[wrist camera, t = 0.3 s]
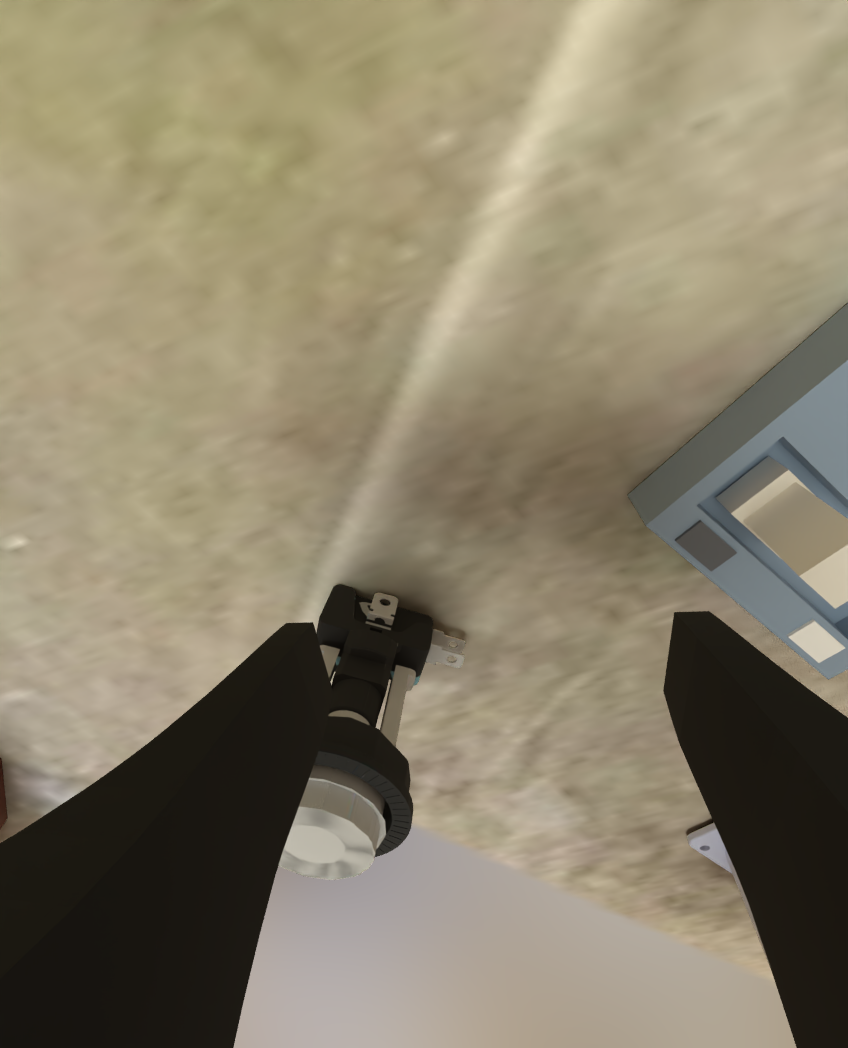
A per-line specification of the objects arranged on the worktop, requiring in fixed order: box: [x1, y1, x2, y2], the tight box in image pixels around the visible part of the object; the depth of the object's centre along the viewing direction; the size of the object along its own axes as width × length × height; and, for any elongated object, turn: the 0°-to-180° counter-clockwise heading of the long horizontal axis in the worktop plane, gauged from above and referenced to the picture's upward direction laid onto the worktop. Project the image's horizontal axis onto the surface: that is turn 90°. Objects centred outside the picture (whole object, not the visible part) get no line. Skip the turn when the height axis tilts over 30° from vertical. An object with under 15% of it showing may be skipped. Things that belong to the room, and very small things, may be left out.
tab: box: [716, 456, 848, 609], centre depth 15 cm, size 3×2×4 cm
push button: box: [278, 585, 466, 880], centre depth 18 cm, size 7×5×10 cm
